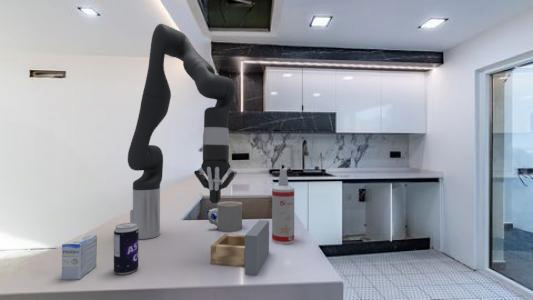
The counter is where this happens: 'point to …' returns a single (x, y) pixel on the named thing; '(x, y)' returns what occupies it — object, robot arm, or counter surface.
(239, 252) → the wooden box
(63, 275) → the medicine box
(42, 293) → the counter surface
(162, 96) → the robot arm
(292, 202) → the spray bottle
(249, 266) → the wall
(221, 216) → the coffee mug
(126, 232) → the beverage can
